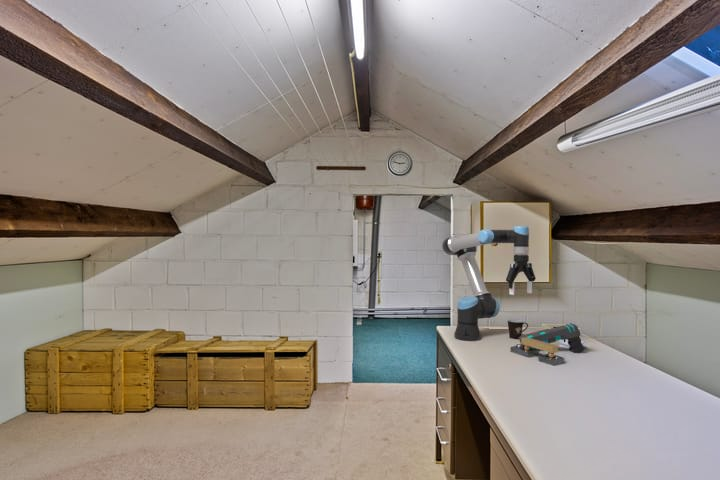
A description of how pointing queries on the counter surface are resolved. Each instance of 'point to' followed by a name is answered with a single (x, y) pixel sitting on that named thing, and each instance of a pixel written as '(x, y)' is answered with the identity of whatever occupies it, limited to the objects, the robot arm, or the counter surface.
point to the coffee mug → (515, 328)
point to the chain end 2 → (551, 359)
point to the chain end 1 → (524, 351)
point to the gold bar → (539, 346)
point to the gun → (559, 336)
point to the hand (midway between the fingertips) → (520, 293)
